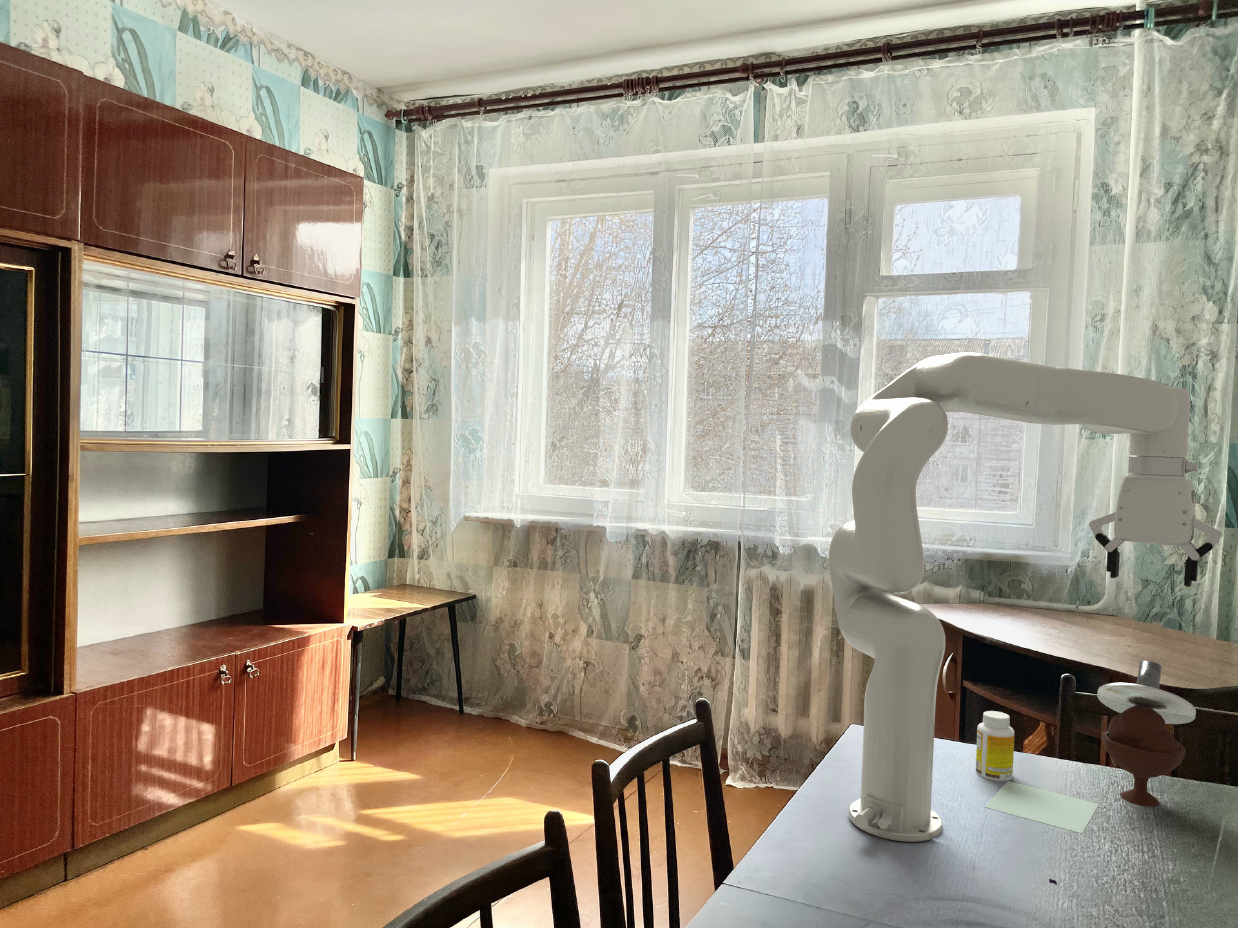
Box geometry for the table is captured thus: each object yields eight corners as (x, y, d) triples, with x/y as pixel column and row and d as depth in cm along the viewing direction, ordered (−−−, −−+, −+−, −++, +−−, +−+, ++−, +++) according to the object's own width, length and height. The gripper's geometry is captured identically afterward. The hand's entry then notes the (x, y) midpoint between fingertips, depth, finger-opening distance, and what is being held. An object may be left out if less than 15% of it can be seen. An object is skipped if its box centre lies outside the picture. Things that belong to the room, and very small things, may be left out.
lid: (1194, 699, 127) (1198, 656, 130) (1092, 680, 135) (1099, 640, 138) (1196, 730, 136) (1201, 689, 139) (1101, 711, 144) (1107, 672, 147)
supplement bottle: (1020, 780, 142) (1023, 717, 142) (995, 785, 140) (998, 721, 139) (991, 768, 147) (994, 707, 147) (967, 772, 145) (970, 711, 144)
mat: (1081, 836, 123) (1082, 833, 123) (984, 809, 130) (984, 806, 130) (1099, 806, 133) (1099, 803, 133) (1007, 783, 141) (1007, 780, 141)
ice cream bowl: (1198, 817, 130) (1204, 717, 129) (1121, 814, 130) (1127, 714, 129) (1156, 788, 140) (1161, 695, 140) (1085, 786, 141) (1090, 693, 140)
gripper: (1227, 471, 131) (1220, 586, 132) (1097, 465, 142) (1091, 571, 142) (1224, 472, 125) (1216, 592, 126) (1088, 466, 136) (1082, 576, 136)
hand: (1150, 581), depth 134 cm, fingers open, 9 cm apart
